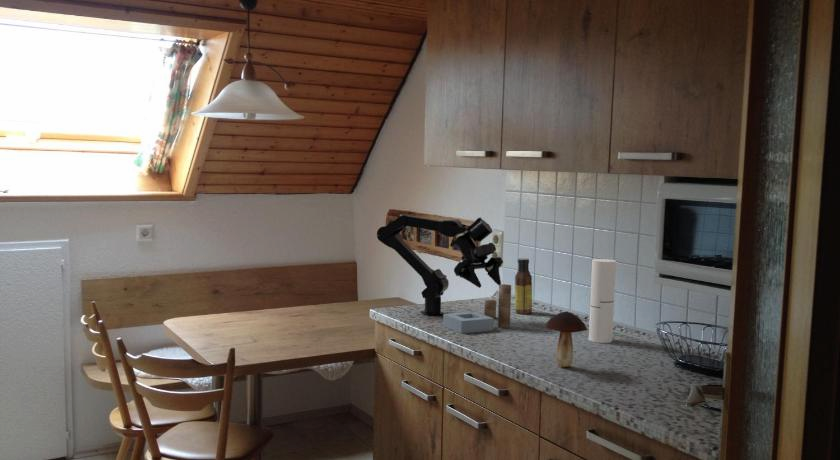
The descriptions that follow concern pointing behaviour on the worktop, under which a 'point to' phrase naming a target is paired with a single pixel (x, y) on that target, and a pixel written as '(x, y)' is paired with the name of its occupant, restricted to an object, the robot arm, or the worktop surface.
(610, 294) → the cylindrical container
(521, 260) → the sauce bottle
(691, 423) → the worktop surface
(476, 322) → the sleeve block
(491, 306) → the short walnut pin
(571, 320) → the decorative mushroom
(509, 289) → the tall walnut pin
